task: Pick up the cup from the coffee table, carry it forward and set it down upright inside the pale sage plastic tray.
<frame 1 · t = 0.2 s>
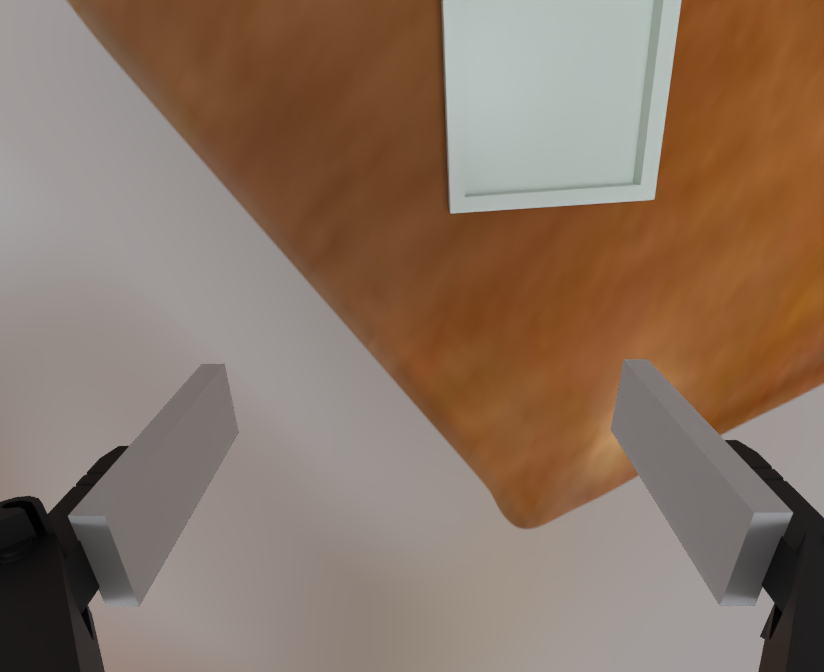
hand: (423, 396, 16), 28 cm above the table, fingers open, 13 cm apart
tray: (548, 95, 37), on the table
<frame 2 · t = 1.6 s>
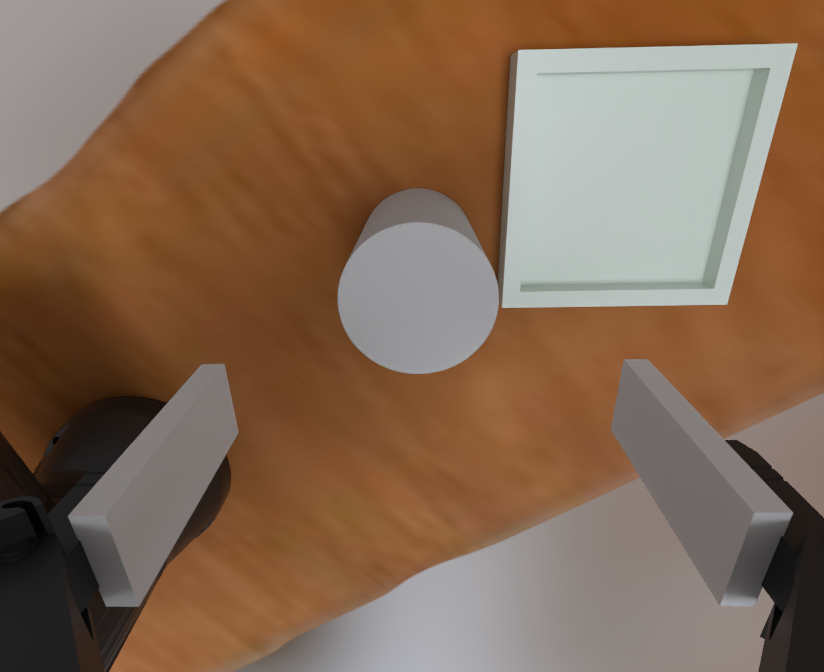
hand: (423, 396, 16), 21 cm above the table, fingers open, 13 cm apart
cup: (417, 245, 35), on the table
tray: (618, 185, 33), on the table
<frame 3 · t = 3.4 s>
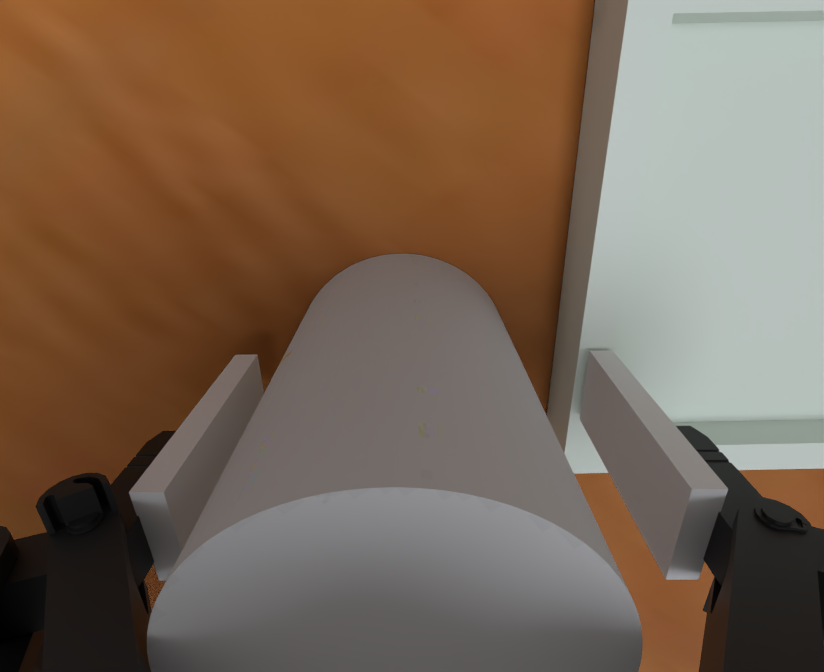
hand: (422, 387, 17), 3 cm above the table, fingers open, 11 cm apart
cup: (402, 351, 19), on the table
tray: (787, 247, 17), on the table
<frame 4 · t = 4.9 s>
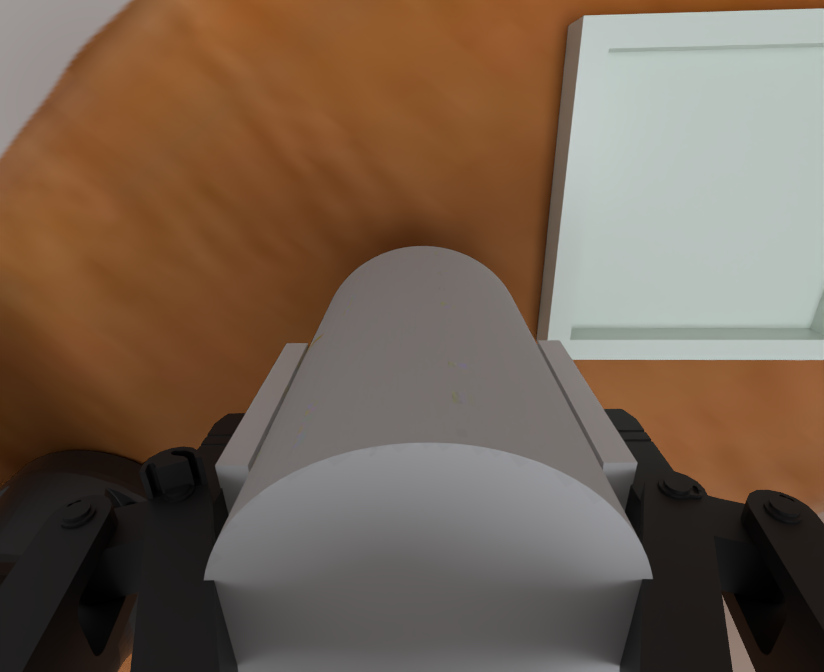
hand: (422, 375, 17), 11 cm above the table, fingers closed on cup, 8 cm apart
cup: (422, 341, 20), point 8 cm above the table, touching gripper
tray: (704, 201, 25), on the table
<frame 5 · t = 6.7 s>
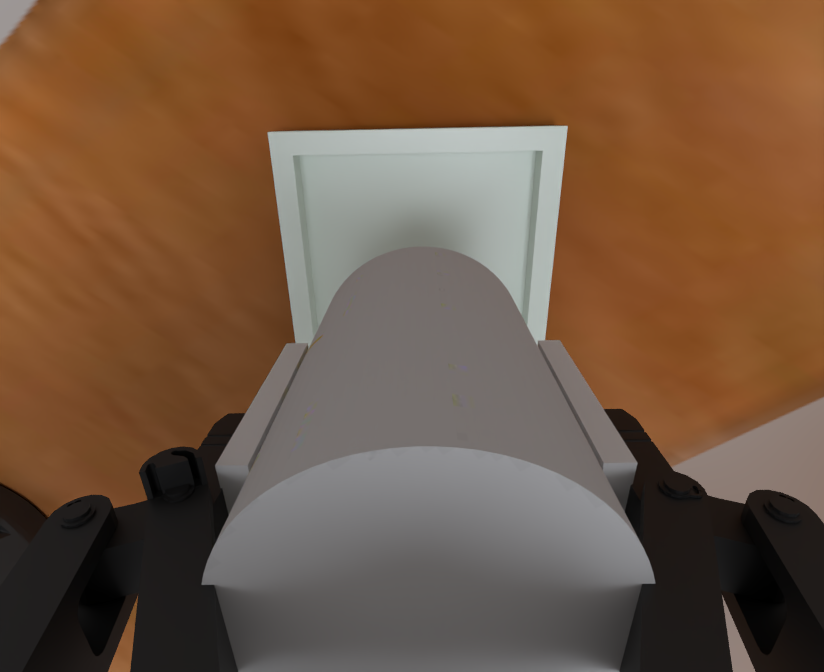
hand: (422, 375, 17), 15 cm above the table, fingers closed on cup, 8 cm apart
cup: (422, 342, 20), point 12 cm above the table, touching gripper
tray: (418, 262, 31), on the table
when the fingers open (4 cm above the table, at t = 8.7 s): cup stays where it is, resting on tray.
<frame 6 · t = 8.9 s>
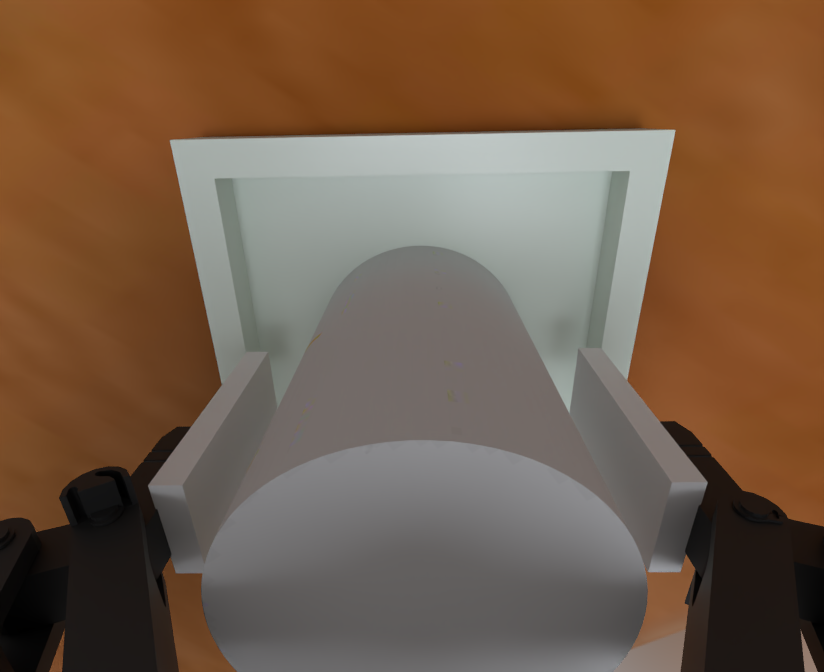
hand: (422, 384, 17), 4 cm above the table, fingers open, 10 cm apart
cup: (420, 340, 20), point 1 cm above the table, touching tray
tray: (422, 333, 21), on the table
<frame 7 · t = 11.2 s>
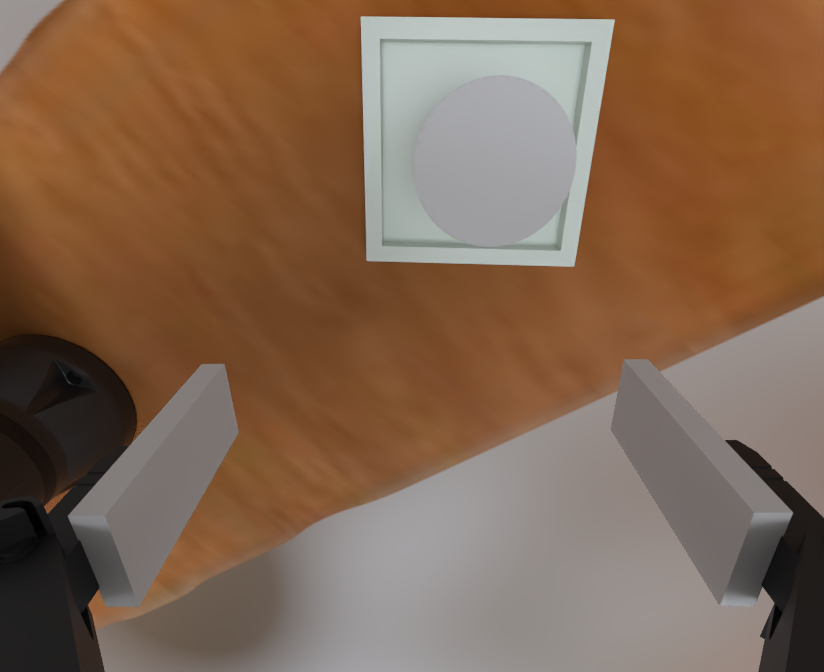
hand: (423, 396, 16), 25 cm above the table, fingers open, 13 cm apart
cup: (474, 151, 35), point 1 cm above the table, touching tray
tray: (474, 150, 36), on the table
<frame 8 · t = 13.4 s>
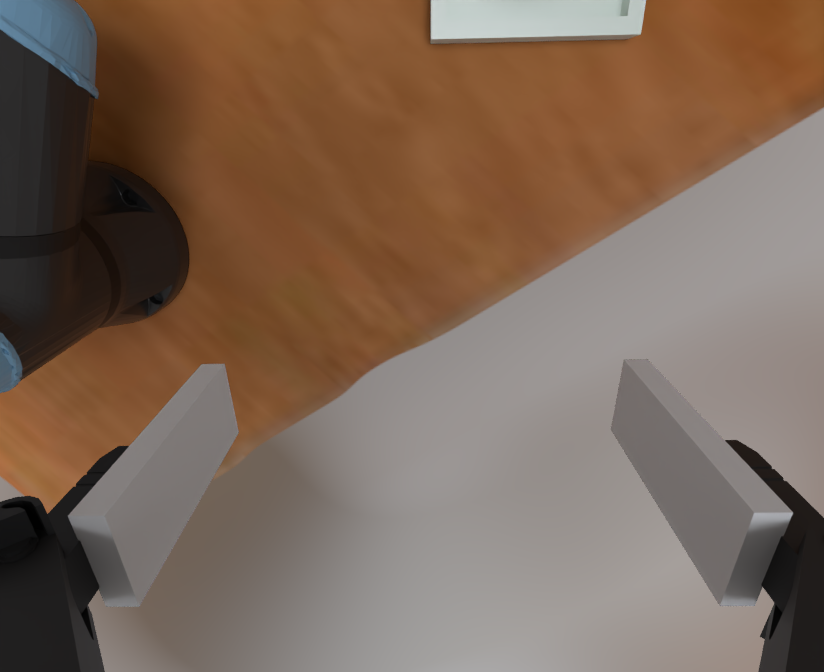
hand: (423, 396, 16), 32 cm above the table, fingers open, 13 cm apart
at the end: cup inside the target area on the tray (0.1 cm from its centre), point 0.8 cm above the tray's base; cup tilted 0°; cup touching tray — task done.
